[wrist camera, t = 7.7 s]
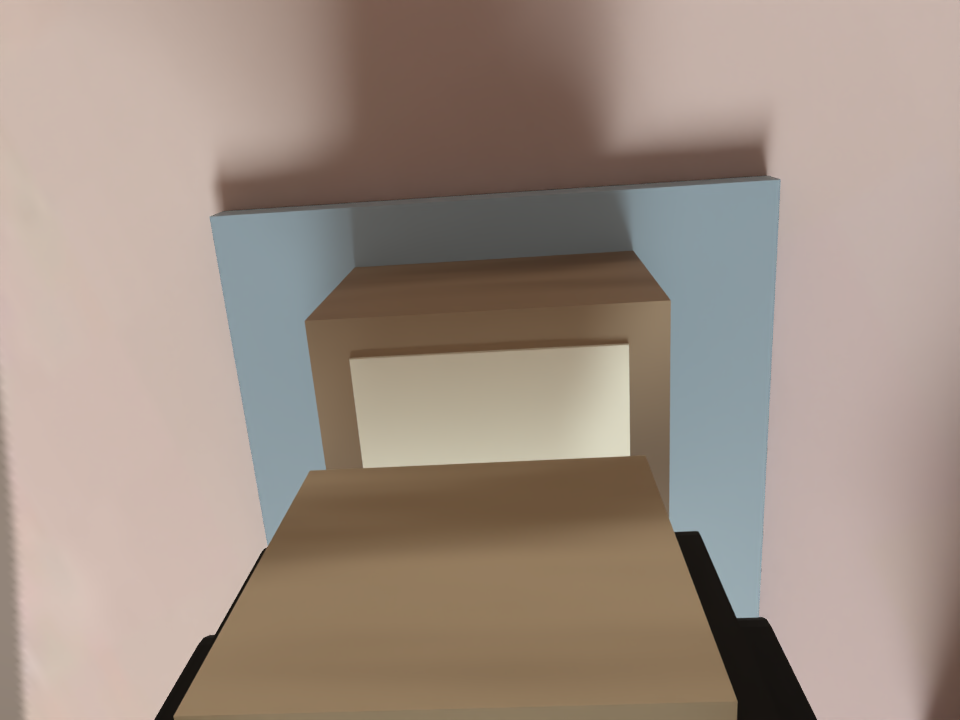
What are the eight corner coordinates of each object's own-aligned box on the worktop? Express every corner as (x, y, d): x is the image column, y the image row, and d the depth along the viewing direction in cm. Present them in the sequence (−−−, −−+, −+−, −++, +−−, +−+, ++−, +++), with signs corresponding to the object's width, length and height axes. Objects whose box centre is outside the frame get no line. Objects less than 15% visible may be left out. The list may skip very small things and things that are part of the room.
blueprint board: (223, 211, 21) (110, 255, 15) (768, 175, 20) (871, 208, 14) (331, 842, 28) (282, 1040, 22) (738, 837, 27) (799, 1042, 21)
